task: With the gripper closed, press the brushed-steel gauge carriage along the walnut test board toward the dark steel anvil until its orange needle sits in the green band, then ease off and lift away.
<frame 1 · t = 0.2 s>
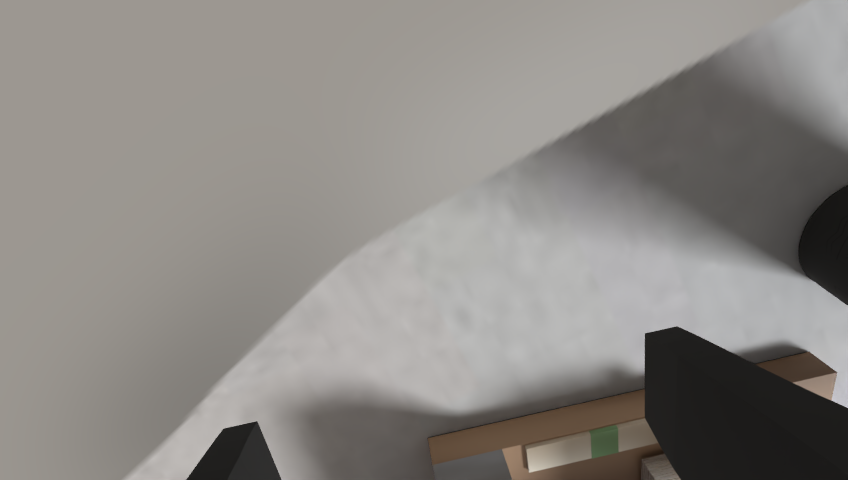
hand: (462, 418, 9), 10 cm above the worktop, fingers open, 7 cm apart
gauge board: (622, 466, 25), on the worktop
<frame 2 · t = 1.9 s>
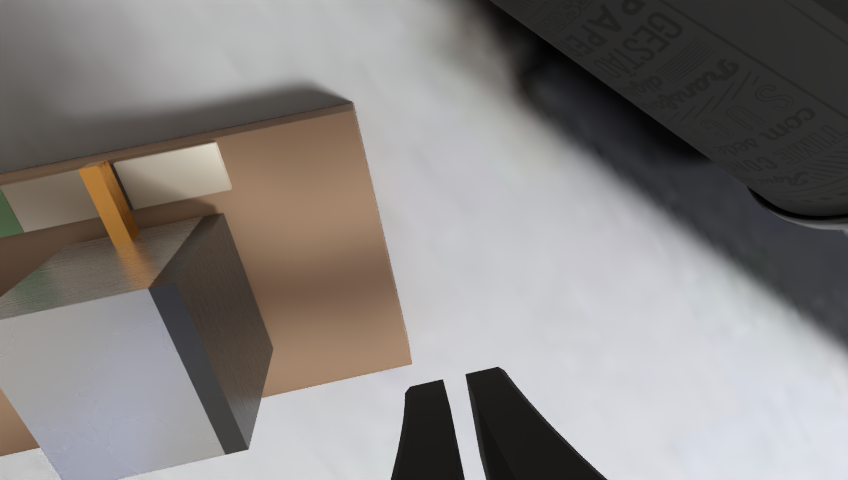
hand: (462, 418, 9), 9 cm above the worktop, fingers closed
gauge carriage: (135, 307, 14), point 4 cm above the worktop, slide at 0.0 cm
gauge board: (127, 288, 18), on the worktop
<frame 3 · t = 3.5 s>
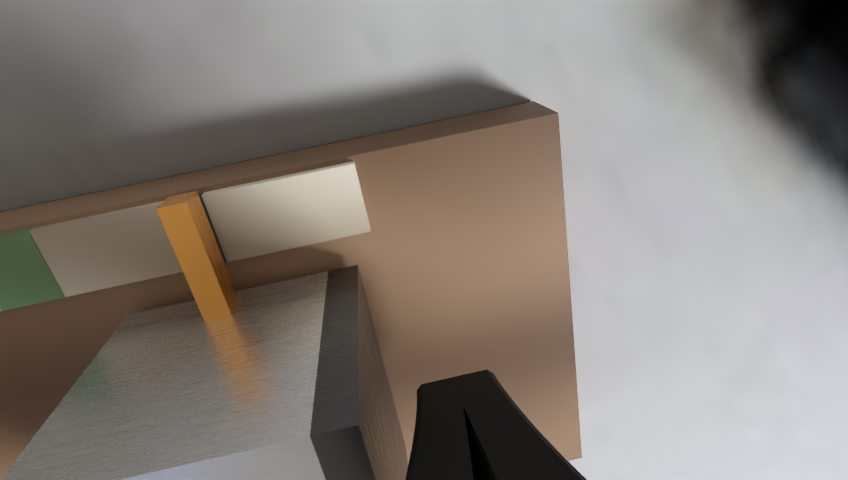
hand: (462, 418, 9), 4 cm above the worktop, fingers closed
gauge carriage: (244, 422, 9), point 4 cm above the worktop, slide at 0.0 cm, touching gripper
gauge board: (199, 359, 13), on the worktop
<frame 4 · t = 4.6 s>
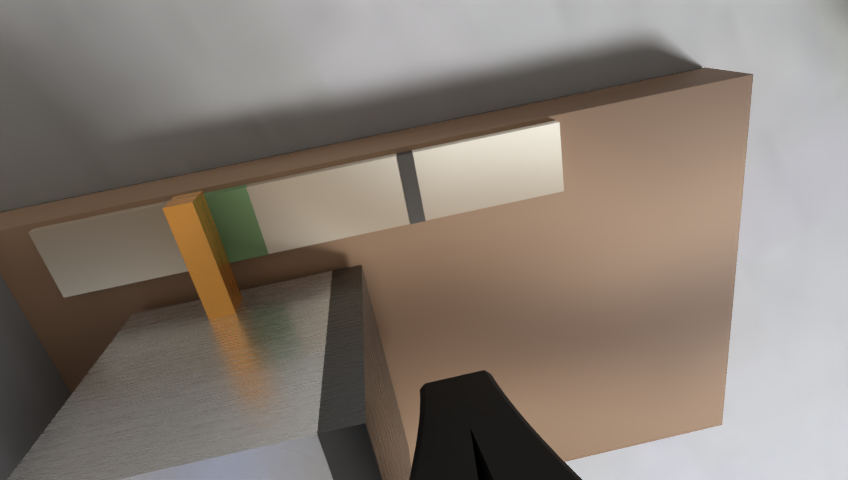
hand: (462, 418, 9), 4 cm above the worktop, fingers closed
gauge carriage: (249, 421, 9), point 4 cm above the worktop, slide at 3.9 cm, touching gripper
gauge board: (355, 325, 13), on the worktop
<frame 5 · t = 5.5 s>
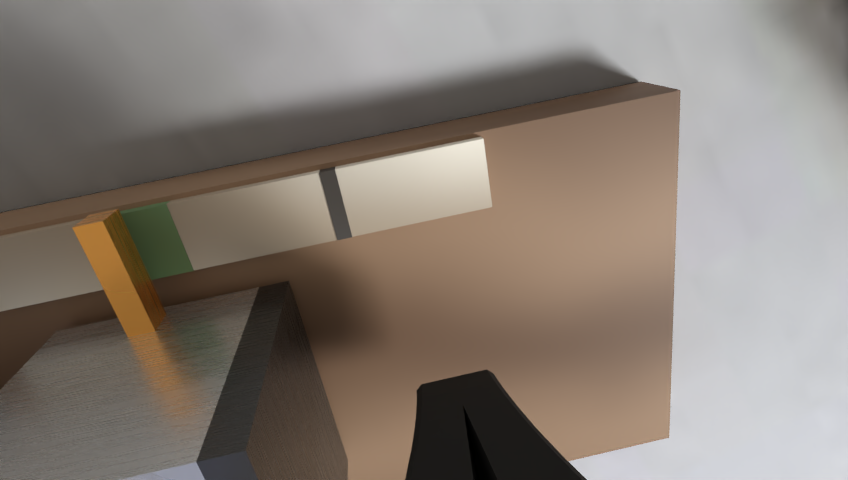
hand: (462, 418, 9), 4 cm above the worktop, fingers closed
gauge carriage: (163, 441, 9), point 4 cm above the worktop, slide at 3.9 cm
gauge board: (297, 338, 13), on the worktop
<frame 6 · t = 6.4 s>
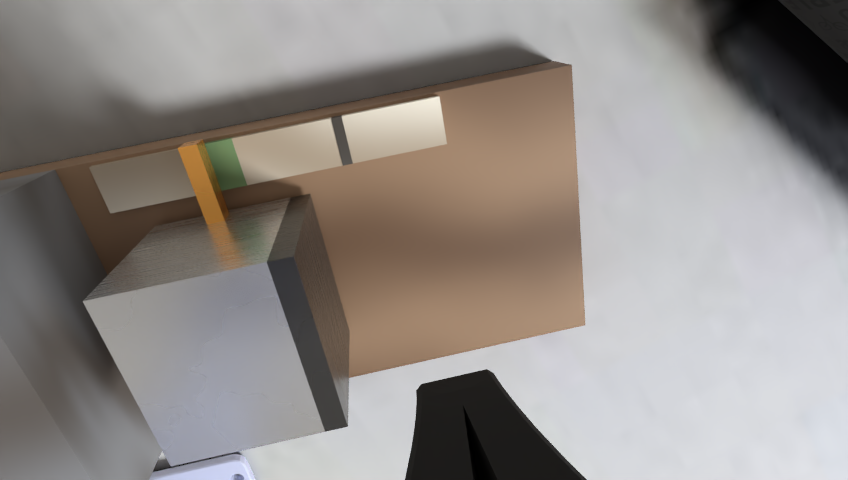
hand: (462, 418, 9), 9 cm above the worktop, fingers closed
gauge carriage: (232, 285, 14), point 4 cm above the worktop, slide at 3.9 cm
gauge board: (313, 248, 18), on the worktop
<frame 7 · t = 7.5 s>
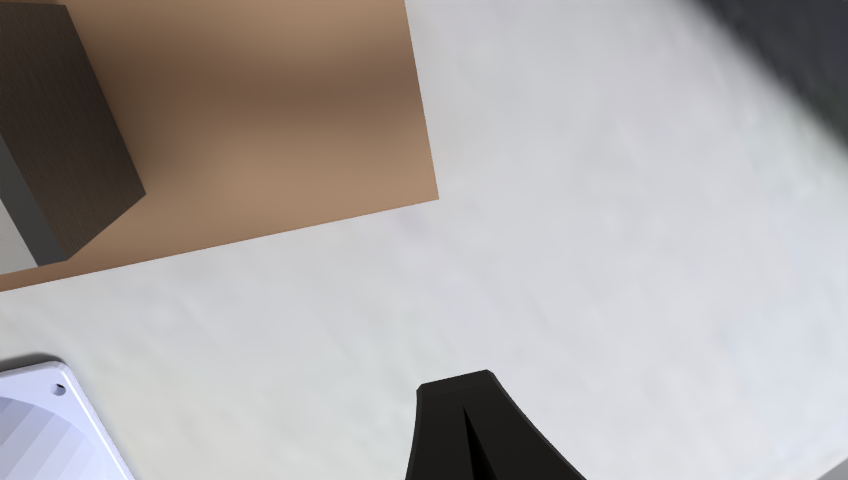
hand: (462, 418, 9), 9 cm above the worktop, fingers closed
gauge board: (111, 102, 15), on the worktop
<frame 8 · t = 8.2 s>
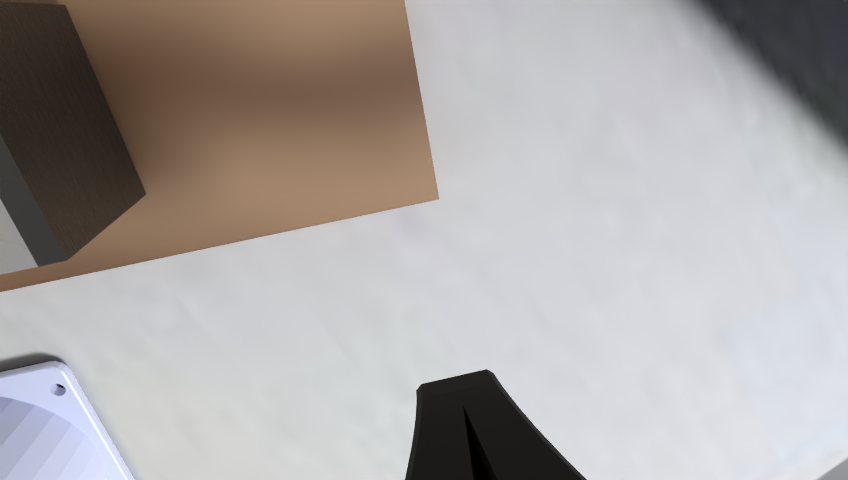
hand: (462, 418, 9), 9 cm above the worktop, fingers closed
gauge board: (111, 102, 15), on the worktop
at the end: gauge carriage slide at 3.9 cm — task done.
